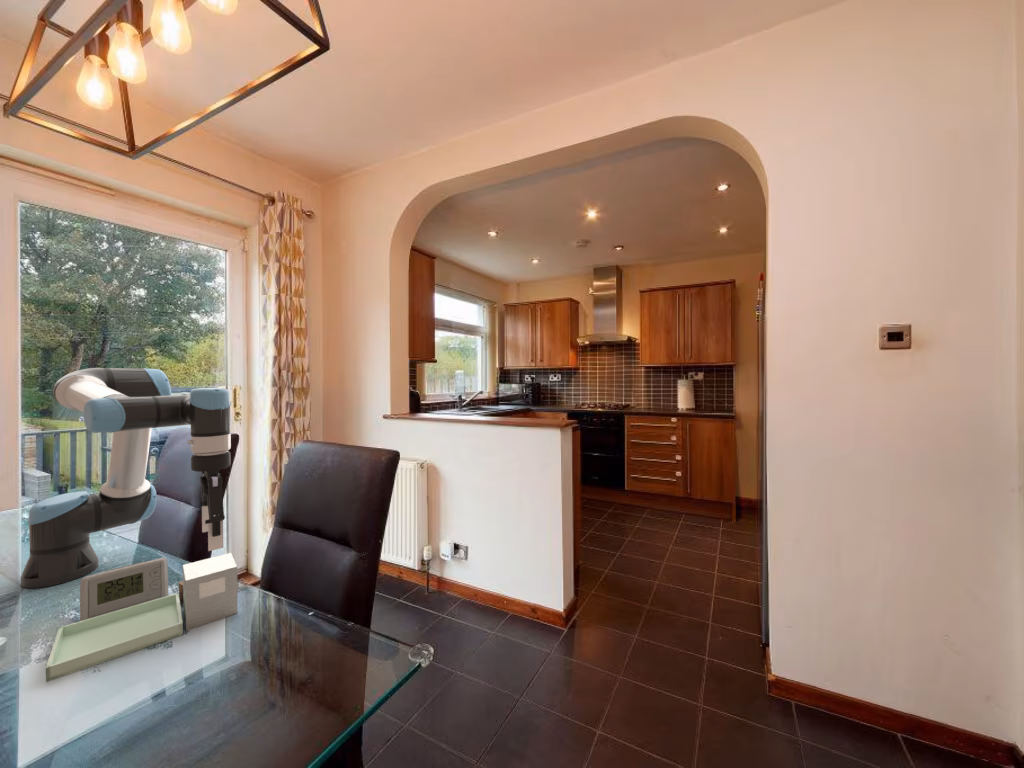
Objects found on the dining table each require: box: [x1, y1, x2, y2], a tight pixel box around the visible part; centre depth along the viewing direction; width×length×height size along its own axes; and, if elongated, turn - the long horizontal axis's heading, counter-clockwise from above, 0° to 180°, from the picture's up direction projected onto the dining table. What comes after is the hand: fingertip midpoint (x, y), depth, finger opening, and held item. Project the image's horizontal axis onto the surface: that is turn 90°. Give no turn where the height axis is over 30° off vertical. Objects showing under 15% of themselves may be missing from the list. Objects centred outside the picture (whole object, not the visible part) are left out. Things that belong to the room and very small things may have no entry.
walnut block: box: [178, 580, 183, 604], centre depth 104 cm, size 5×5×5 cm
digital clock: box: [79, 557, 170, 621], centre depth 100 cm, size 16×9×11 cm, turn 123°
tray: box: [44, 592, 184, 683], centre depth 89 cm, size 17×21×3 cm
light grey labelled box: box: [182, 552, 239, 631], centre depth 99 cm, size 10×10×12 cm
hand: (212, 539), depth 94 cm, fingers open, 13 cm apart
